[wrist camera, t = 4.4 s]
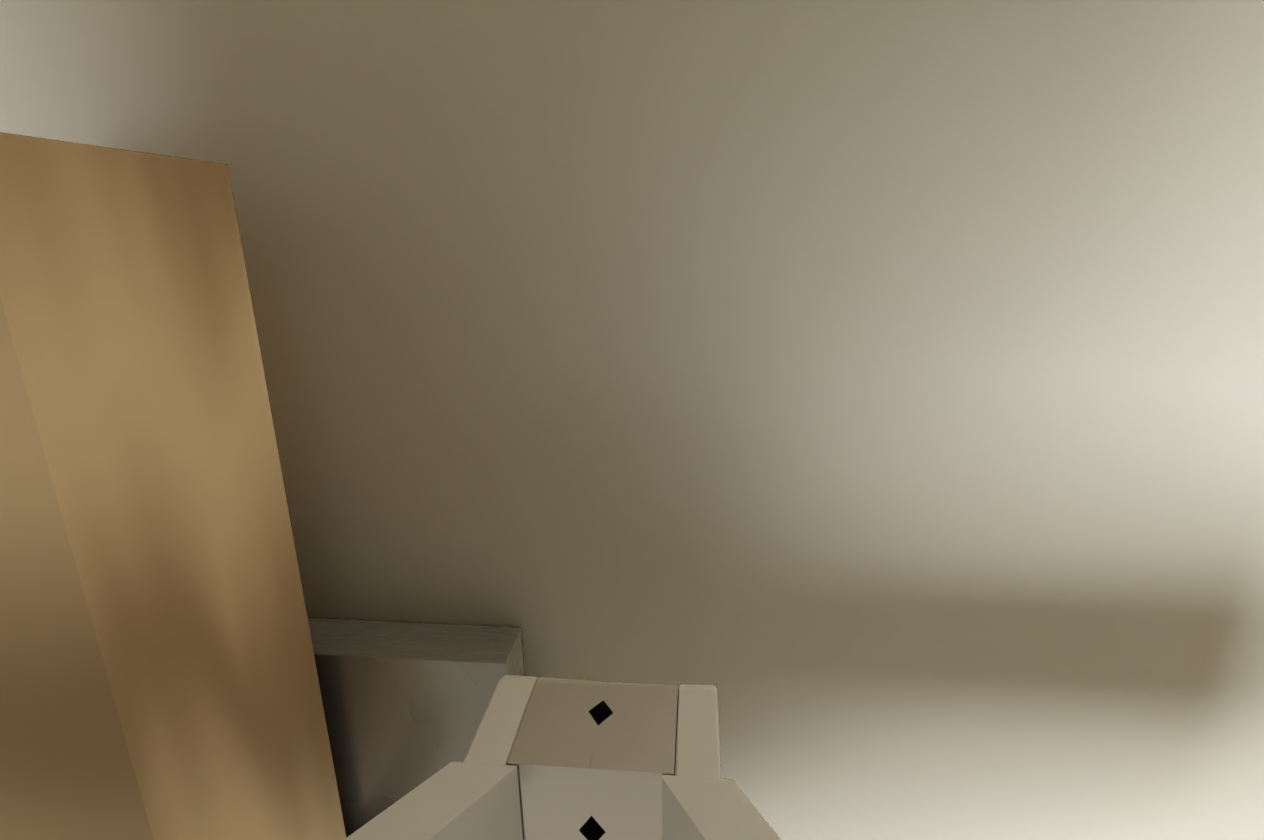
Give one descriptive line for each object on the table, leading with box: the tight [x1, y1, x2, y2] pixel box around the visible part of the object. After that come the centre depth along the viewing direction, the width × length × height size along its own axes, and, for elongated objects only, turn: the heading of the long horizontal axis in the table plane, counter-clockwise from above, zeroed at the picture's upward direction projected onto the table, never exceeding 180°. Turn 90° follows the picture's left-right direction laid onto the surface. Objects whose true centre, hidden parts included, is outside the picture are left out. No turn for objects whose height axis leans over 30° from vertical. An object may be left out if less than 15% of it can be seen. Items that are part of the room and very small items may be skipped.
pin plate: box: [308, 618, 524, 838], centre depth 13 cm, size 9×9×1 cm
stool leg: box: [0, 132, 346, 840], centre depth 8 cm, size 14×4×4 cm, turn 1°
